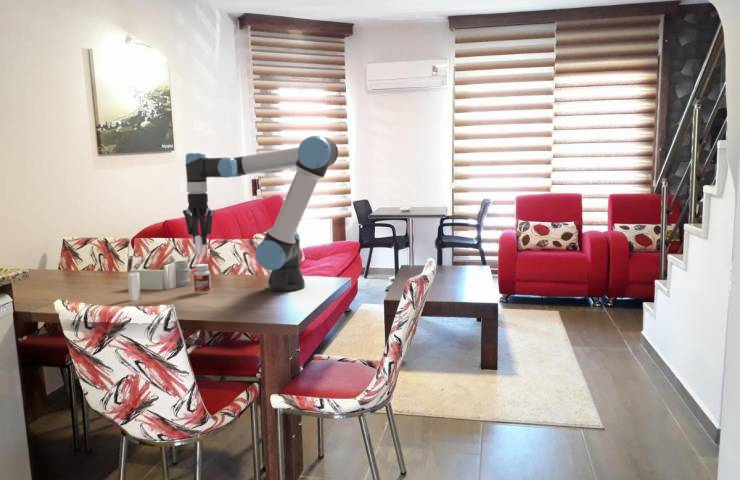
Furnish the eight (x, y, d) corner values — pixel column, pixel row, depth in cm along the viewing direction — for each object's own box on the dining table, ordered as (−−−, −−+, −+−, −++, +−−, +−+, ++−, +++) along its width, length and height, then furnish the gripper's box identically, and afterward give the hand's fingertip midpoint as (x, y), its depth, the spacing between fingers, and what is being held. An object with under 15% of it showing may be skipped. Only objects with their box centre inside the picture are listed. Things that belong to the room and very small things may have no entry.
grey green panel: (161, 290, 234) (160, 271, 233) (130, 289, 237) (128, 270, 236) (164, 289, 237) (163, 269, 236) (133, 288, 239) (131, 269, 238)
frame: (176, 287, 240) (175, 263, 239) (132, 301, 216) (131, 274, 215) (173, 286, 241) (171, 263, 239) (129, 300, 217) (127, 274, 215)
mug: (179, 287, 239) (177, 259, 238) (162, 284, 246) (160, 256, 245) (194, 284, 245) (193, 256, 244) (177, 281, 252) (176, 254, 251)
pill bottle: (195, 295, 225) (194, 266, 224) (193, 292, 231) (192, 264, 229) (211, 293, 227) (210, 265, 226) (209, 290, 233) (208, 263, 232)
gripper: (219, 192, 225) (222, 251, 228) (187, 192, 230) (190, 250, 233) (207, 193, 218) (211, 254, 221) (175, 193, 223) (179, 253, 226)
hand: (200, 252), depth 227 cm, fingers open, 1 cm apart
